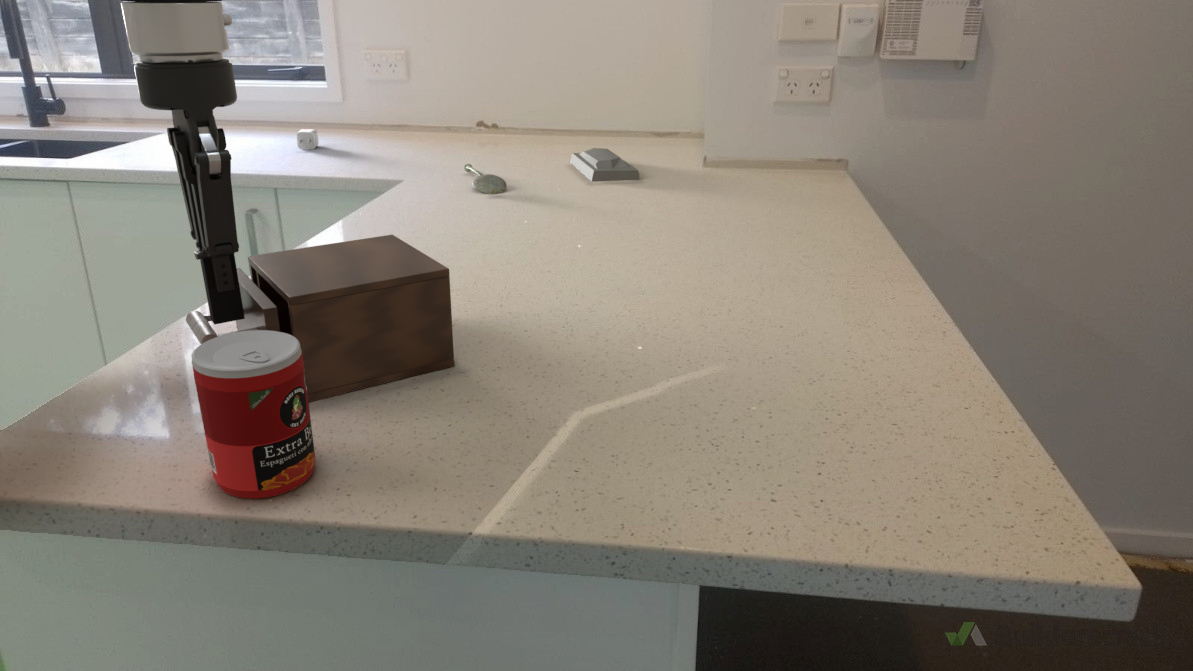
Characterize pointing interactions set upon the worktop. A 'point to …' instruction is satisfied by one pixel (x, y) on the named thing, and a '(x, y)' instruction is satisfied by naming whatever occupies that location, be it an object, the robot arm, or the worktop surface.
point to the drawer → (249, 310)
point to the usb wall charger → (307, 139)
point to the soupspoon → (487, 182)
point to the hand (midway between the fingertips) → (227, 319)
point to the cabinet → (363, 311)
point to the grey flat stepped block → (603, 165)
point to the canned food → (255, 412)
